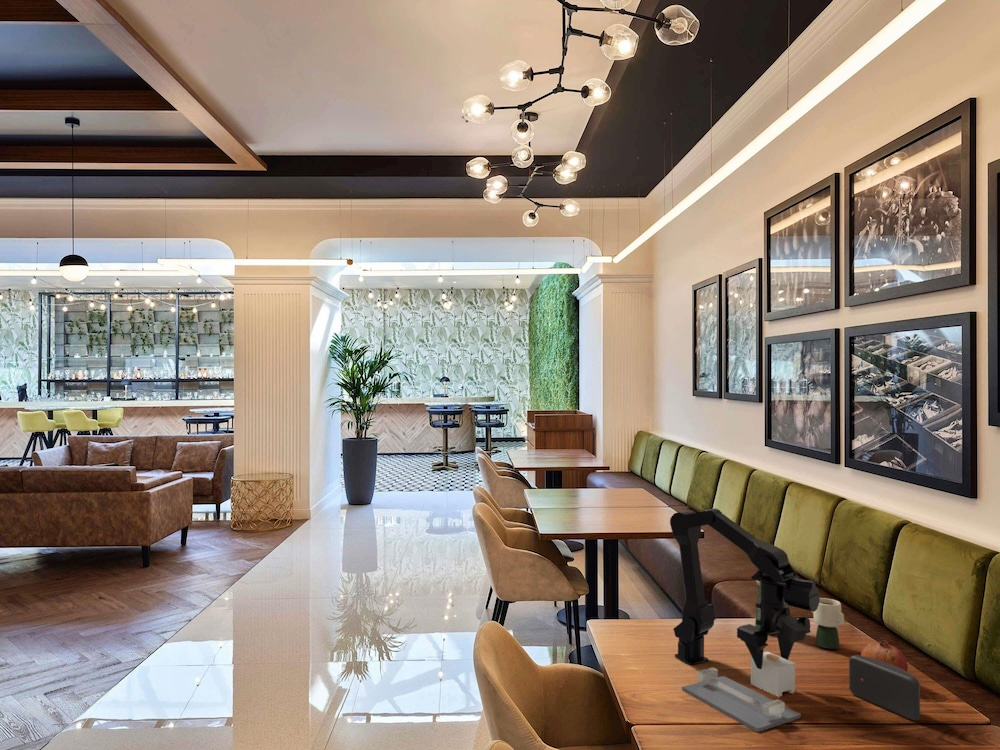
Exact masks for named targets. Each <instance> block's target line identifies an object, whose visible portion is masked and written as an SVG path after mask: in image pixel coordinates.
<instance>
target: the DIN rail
mask: <svg viewBox="0 0 1000 750" xmlns="http://www.w3.org/2000/svg"><path fill="white" fill-rule="evenodd" d="M718 671H719V670H718V669H717V668H715V667H709V668H704V669H701V670H697V680H698V681H699V682H701V683H702V684H704V685H706V686H708V687H710V688H712V689H714V690H715V691H717V692H719V693H721V694H723V695H725V696H727V697H729V698H731V699H733V700H734V701H736V702H738V703H740V704H742V705H744V706H746V707H748V708H750V709H751V710H753V711H755V712H757V713H759V714H761V715H763V716H765V717H767V718H769V719H770V720H772V721H777V720H780V719H781V713H782V712H785V707H786V706H785V701H783V700H780V699H779V698H777V699H775V700H773V701H771V702H768V703H765V704H762V703H760V702H758V701H756V700H754V699H752V698H750V697H748V696H746V695H744V694H742V693H740V692H738V691H737V690H735V689H733V688H731V687H729V686H727V685H725V684H723V683H721V682H719V681H717V680H715V679H716V678H718V677H719V675H718V673H719V672H718Z"/></svg>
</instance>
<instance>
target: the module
mask: <svg viewBox="0 0 1000 750" xmlns="http://www.w3.org/2000/svg"><path fill="white" fill-rule="evenodd" d="M750 685H752V686H754V687H755V688H757V689H760V690H762V689H763V690H762V691H763V692H766V691H767V692H766V693H768V692H769V693H768V694H770V693H771V694H770V695H772V694H774V695H776V696H778V697H777V698H780V697H779V696H782V697H783V692H787V691H789V692H794V691H795V692H796V662H793V661H792V660H789V659H788V660H786V659H784V658H782V657H781V656H780V655H776V654H775V653H772V652H769V651H763V663H762V669H758V668H757V667H756V665H755V662H754V660H753V658H752V656H751V655H750ZM789 692H788V693H789ZM774 695H773V696H774ZM776 696H775V697H776Z"/></svg>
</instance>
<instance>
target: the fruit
mask: <svg viewBox="0 0 1000 750" xmlns="http://www.w3.org/2000/svg"><path fill="white" fill-rule="evenodd" d="M860 656H864V657H869V658H873V659H877V660H880V661H883V662H886V663H889V664H892V665H894V666H897V667H899V668H901V669H903V670H905V671H907V672H908V671H909V670H908V669H909V668H908V667H909V666H908V665H909V664H908V661H907V658H906V656H905V655H904V653H903V652H902V651H901V650H900V649H898V648H897V647H895V646H894V645H890V644H889V642H888V641H887V640H884V639H882V640H881V641H879V642H874V643H869V644H866V646H865V647H864V648H863V649H862V651H861V653H860Z"/></svg>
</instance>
